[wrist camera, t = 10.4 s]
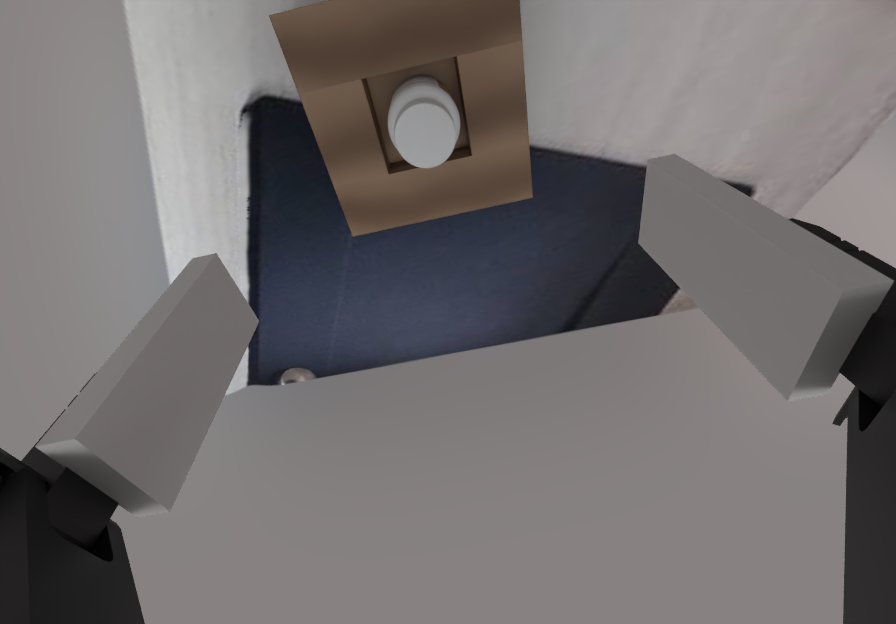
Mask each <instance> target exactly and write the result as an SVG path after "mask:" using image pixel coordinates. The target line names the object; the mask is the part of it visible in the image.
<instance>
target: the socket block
mask: <svg viewBox="0 0 896 624" xmlns="http://www.w3.org/2000/svg"><path fill="white" fill-rule="evenodd" d="M269 17H270V19H271V22H272V25H273V27H274V30H275V33H276V35H277V38H278V41H279V43H280V46H281V48H282V51H283V54H284V56H285V59H286V62H287V64H288V67H289V70H290V72H291V75H292V77H293V80H294V83H295V85H296V88H297V91H298V93H299V96H300V99H301V101H302V104H303V106H304V109H305V112H306V114H307V117H308V120H309V122H310V125H311V128H312V130H313V133H314V136H315V138H316V141H317V143H318V146H319V149H320V151H321V154H322V157H323V159H324V162H325V165H326V167H327V170H328V172H329V175H330V178H331V180H332V183H333V186H334V188H335V191H336V194H337V196H338V199H339V201H340V204H341V207H342V209H343V212H344V215H345V217H346V220H347V223H348V225H349V228H350V230H351V233H352V236H358V235H362V234H367V233H371V232H376V231H381V230H385V229H390V228H395V227H399V226H404V225H408V224H413V223H418V222H422V221H427V220H432V219H436V218H441V217H445V216H450V215H455V214H459V213H464V212H468V211H473V210H478V209H482V208H487V207H492V206H496V205H501V204H505V203H510V202H515V201H519V200H524V199H529V198H533V195H532V180H531V165H530V150H529V135H528V120H527V105H526V91H525V76H524V61H523V46H522V31H521V16H520V1H519V0H329V1H325V2H321V3H317V4H313V5H309V6H305V7H301V8H297V9H293V10H289V11H285V12H281V13H277V14H273V15H269ZM418 74H424V75H429V76H432V77H434V78H436V79H438V80H439V81H440V82H441V83H442V84H444V86H445V87H446V88H447V90H448V91H449V93H450V95H451V97H452V99H453V100H454V102H455V104H456V107H457V109H458V112H459V116H460V132H459V136H458V139H457V142H456V144H455V146H454V149H453V151H452V153H451V155H450V156H449V157H448V159H447V160H446V161H444V162H443V163H442V164H440V165H438V166H436V167H432V168H419V167H416V166H413V165H411V164H410V163H408V162H407V161H406V160H405V159H404V158H403V157H402V156H401V155H400V153H399V151H398V150H397V149H396V147H395V146H394V144H393V142H392V140H391V138H390V135H389V131H388V113H389V108H390V103H391V99H392V96H393V93H394V91H395V89H396V88H397V86H398V85H399V84H400V83H401V82H402V81H403V80H405V79H406V78H408V77H410V76H413V75H418Z"/></svg>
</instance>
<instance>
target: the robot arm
mask: <svg viewBox="0 0 896 624" xmlns="http://www.w3.org/2000/svg"><path fill="white" fill-rule="evenodd" d="M639 244H640V245H641V246H642V248H643V249H644V250H645V251H646V252H647V253H648V254H649V255H650V256H651V257H652V258H653V259H654V260H655V261H656V262H657V263H658V265H659V266H660V267H661V268H662V269H663V270H664V271H665V272H666V273H667V274H668V275H669V276H670V277H671V278H672V279H673V280H674V282H675V283H676V284H677V285H678V286H679V287H680V288H681V289H682V290H683V291H684V292H685V293H686V294H687V295H688V296H689V297H690V298H691V300H692V301H693V302H694V303H695V304H696V305H697V306H698V307H699V308H700V309H701V310H702V311H703V312H704V313H705V314H706V315H707V317H708V318H709V319H710V320H711V321H712V322H713V323H714V324H715V325H716V326H717V327H718V328H719V329H720V330H721V331H722V332H723V334H725V336H726V337H727V338H728V339H729V340H730V341H731V342H732V343H733V344H734V345H735V346H736V347H737V348H738V349H739V350H740V352H741V353H742V354H743V355H744V356H745V357H746V358H747V359H748V360H749V361H750V362H751V363H752V364H753V365H754V366H755V367H756V369H757V370H758V371H759V372H760V373H761V374H762V375H763V376H764V377H765V378H766V379H767V380H768V381H769V382H770V383H771V384H772V386H773V387H774V388H775V389H776V390H777V391H778V392H779V393H780V394H781V395H782V396H783V397H784V398H785V399H786V400H787V401H791V400H797V399H803V398H808V397H814V396H820V395H825V394H827V393H828V392H829V390H830V388H831V387H832V384H833V383H834V382H835V380H836V378H837V376H838V374H839V373H841V374H842V375H844V376H845V377H846V378H847V379H848V380H849V381H851V382H852V383H853V384H854V385H855V387H854V389H853V391H852V392H851V394H850V395H849V397H848V398H847V400H846V401H845V403H844V404H843V406H842V407H841V409H840V411H839V412H838V414H837V415H836V417H835V419H834V421H833V424H835V425H839V426H840V425H841V424H842V422H843V420H844V419H845V418H847V417H848V432H847V478H846V523H845V526H846V527H845V571H844V614H843V615H844V616H843V624H896V268H894V267H892V266H891V265H889V264H887V263H885V262H883V261H881V260H880V259H878V258H876V257H874V256H873V255H871V254H869V253H867V252H865V251H863V250H862V251H859V250H858V247H856V246H854V245H853V244H851V243H849V242H847V241H845V240H844V241H841V238H840V237H838V236H836V235H834V234H833V233H831V232H829V231H827V230H825V229H823V228H822V227H820V226H817V225H813V224H810V223H807V222H803V221H800V220H796V219H793V218H792V219H787V218H785V217H783V216H781V215H780V214H778V213H776V212H774V211H773V210H771V209H769V208H768V207H766V206H764V205H762V204H761V203H759V202H757V201H755V200H754V199H752V198H750V197H749V196H747V195H745V194H743V193H742V192H740V191H738V190H736V189H735V188H733V187H731V186H730V185H728V184H726V183H724V182H723V181H721V180H719V179H717V178H716V177H714V176H712V175H711V174H709V173H707V172H705V171H704V170H702V169H700V168H698V167H697V166H695V165H693V164H692V163H690V162H688V161H686V160H685V159H683V158H681V157H679V156H678V155H676V154H671V155H667V156H662V157H658V158H653V159H648V162H647V171H646V180H645V189H644V198H643V207H642V216H641V225H640V234H639ZM258 323H259V320H258V319H257V317H256V315H255V314H254V312H253V311H252V309H251V307H250V306H249V304H248V303H247V301H246V300H245V298H244V296H243V295H242V293H241V292H240V290H239V288H238V287H237V285H236V284H235V282H234V281H233V279H232V277H231V276H230V274H229V273H228V271H227V269H226V268H225V266H224V265H223V263H222V262H221V260H220V258H219V257H218V255H217V254H216V253H215V254H211V255H206V256H202V257H197V258H193V259H192V260H191V261H190V262H189V263H188V265H187V266H186V267H185V268H184V269H183V271H182V272H181V273H180V274H179V275H178V277H177V278H176V279H175V280H174V281H173V283H172V284H171V285H170V286H169V287H168V289H167V290H166V291H165V292H164V293H163V295H162V296H161V297H160V298H159V299H158V300H157V302H156V303H155V304H154V305H153V306H152V308H151V309H150V310H149V311H148V312H147V314H146V315H145V316H144V317H143V318H142V320H141V321H140V322H139V323H138V324H137V325H136V327H135V328H134V329H133V330H132V332H131V333H130V334H129V335H128V336H127V337H126V339H125V340H124V341H123V342H122V343H121V345H120V346H119V347H118V348H117V349H116V351H115V352H114V353H113V354H112V355H111V356H110V358H109V359H108V360H107V362H105V364H104V365H103V366H102V367H101V368H100V370H99V371H98V372H97V373H96V374H94V375H93V377H92V378H91V379H90V380H89V381H88V383H87V384H86V385H85V386H84V387H83V388H82V390H81V391H80V393H79V395H77V396H76V397H75V398H74V399H73V400H72V402H71V403H70V404H69V405H68V408H67V409H66V410H64V411H63V412H62V413H61V415H60V416H59V417H58V418H57V419H56V421H55V422H54V423H53V424H52V425H51V426H50V428H49V429H48V430H47V431H46V432H45V434H44V435H43V436H42V437H41V438H40V439H39V441H38V442H37V443H36V444H35V445H34V447H33V448H32V449H31V450H30V451H29V453H28V454H27V455H26V456H25V457H24V458H23V460H22V461H19V460H18V459H16V458H15V457H13V456H12V455H10V454H9V453H7V452H6V451H4V450H2V449H1V448H0V624H145V623H144V619H143V615H142V612H141V607H140V603H139V599H138V595H137V591H136V588H135V583H134V579H133V575H132V571H131V568H130V563H129V559H128V556H127V552H126V548H125V544H124V540H123V536H122V532H121V529H120V527H119V526H118V525H117V523H115V522H114V521H112V520H111V519H110V518H111V516H112V514H113V513H114V511H115V509H116V507H117V506H118V505H120V506H121V507H123V508H124V509H126V510H127V511H129V512H130V513H131V514H133V515H135V516H136V517H143V516H149V515H154V514H160V513H165V512H170V511H171V508H172V506H173V504H174V502H175V500H176V498H177V496H178V493H179V491H180V489H181V487H182V485H183V483H184V481H185V479H186V476H187V474H188V472H189V470H190V468H191V466H192V464H193V461H194V459H195V457H196V455H197V453H198V451H199V449H200V446H201V444H202V442H203V440H204V438H205V436H206V434H207V432H208V429H209V427H210V425H211V423H212V421H213V419H214V417H215V414H216V412H217V410H218V408H219V406H220V404H221V402H222V399H223V397H224V395H225V393H226V391H227V389H228V387H229V385H230V382H231V380H232V378H233V376H234V374H235V372H236V370H237V367H238V365H239V363H240V361H241V359H242V357H243V355H244V352H245V350H246V348H247V346H248V344H249V342H250V340H251V338H252V335H253V333H254V331H255V329H256V327H257V325H258Z"/></svg>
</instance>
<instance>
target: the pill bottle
mask: <svg viewBox="0 0 896 624" xmlns="http://www.w3.org/2000/svg"><path fill="white" fill-rule="evenodd" d="M388 131H389V135H390V138H391V140H392V142H393V144H394V146H395V147H396V149H397V150H398V151H399V153H400V155H401V156H402V157H403V158H404V159H405V160H406V161H407V162H408V163H410V164H411V165H413V166H416V167H419V168H432V167H436V166H438V165H440V164H442V163H443V162H444V161H446V160H447V159H448V157H449V156H450V155H451V153H452V151H453V149H454V146H455V144H456V142H457V139H458V136H459V132H460V116H459V112H458V109H457V107H456V104H455V102H454V100H453V99H452V97H451V95H450V93H449V91H448V90H447V88H446V87H445V86H444V84H442V83H441V82H440V81H439V80H438V79H436V78H434V77H432V76H429V75H424V74H418V75H413V76H410V77H408V78H406V79H405V80H403V81H402V82H401V83H400V84H399V85H398V86H397V88H396V89H395V91H394V93H393V96H392V99H391V103H390V108H389V113H388Z"/></svg>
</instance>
